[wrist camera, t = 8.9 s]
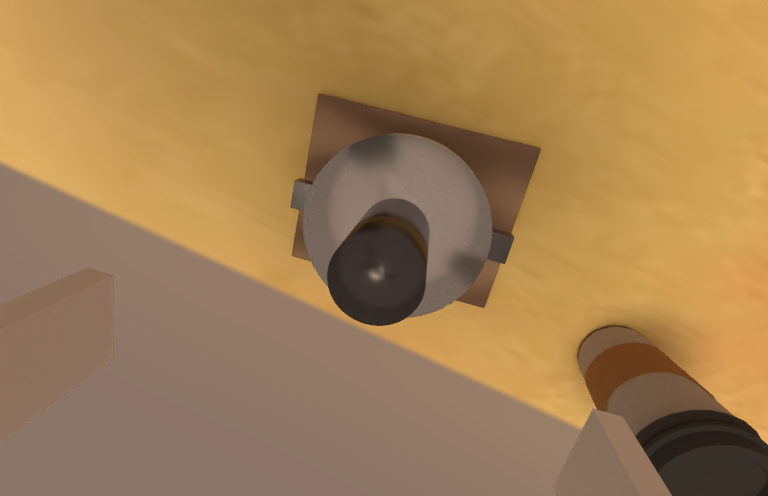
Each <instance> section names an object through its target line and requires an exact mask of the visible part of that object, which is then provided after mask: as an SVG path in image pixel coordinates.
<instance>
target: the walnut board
mask: <svg viewBox="0 0 768 496" xmlns="http://www.w3.org/2000/svg"><path fill="white" fill-rule="evenodd" d="M392 133H403V134H412V135H418V136H422V137H425V138H428V139H431V140H434V141H436V142H438V143H440V144H442V145H444V146H445V147H447V148H448V149H450V150H451V151H453V152H454V153H456V154H457V155H458V156H459V157H460V158H461V159H462V160H463V161H464V162H465V163H466V164H467V165H468V166H469V167H470V169H471V170H472V171H473V173H474V174H475V176H476V177H477V179H478V180H479V182H480V184H481V185H482V188H483V190H484V192H485V194H486V196H487V200H488V203H489V206H490V211H491V217H492V228H494V229H498V230H502V231H506V232H510V233H511V231H512V229H513V226H514V223H515V220H516V217H517V215H518V212H519V209H520V206H521V203H522V201H523V198H524V195H525V192H526V189H527V187H528V184H529V181H530V178H531V176H532V173H533V170H534V167H535V164H536V162H537V159H538V156H539V153H540V150H541V148H537V147H533V146H529V145H525V144H521V143H517V142H513V141H509V140H504V139H500V138H496V137H492V136H488V135H484V134H480V133H476V132H472V131H468V130H464V129H460V128H456V127H452V126H448V125H444V124H440V123H436V122H432V121H428V120H424V119H420V118H416V117H412V116H408V115H404V114H399V113H395V112H391V111H387V110H383V109H379V108H375V107H371V106H367V105H363V104H359V103H355V102H351V101H347V100H343V99H339V98H335V97H331V96H327V95H323V94H318V100H317V106H316V112H315V118H314V124H313V130H312V136H311V142H310V148H309V154H308V160H307V166H306V172H305V178H304V179H305V180H309V181H313V182H314V180H315V178H316V177H317V175H318V174H319V172H320V171H321V170H322V168H323V167H324V166H325V165H326V164H327V163H328V162H329V161H330V160H331V159H332V158H333V157H334V156H335V155H336V154H338V153H339V152H340V151H342V150H343V149H345V148H346V147H348V146H350V145H352V144H354V143H356V142H358V141H361V140H363V139H366V138H370V137H374V136H378V135H382V134H392ZM303 215H304V211H302V210H299V215H298V221H297V227H296V233H295V239H294V245H293V251H292V256H294V257H297V258H301V259H305V260H308V261H311V259H310V257H309V255H308V252H307V248H306V245H305V240H304V233H303ZM499 265H500V263H499V262H495V261H492V260H488V259H487V260H486V262H485V264H484V267H483V269H482V271H481V272H480V274H479V276H478V277H477V279H476V280H475V281H474V283H473V284H472V285H471V286H470V288H469V289H468V290H467V291H466V292H465V293H464V294H462V295H461V296H460V297H459V298H458V299H456V300H457V301H460V302H464V303H468V304H471V305H475V306H479V307H482V308H484V307H485V304H486V301H487V299H488V296H489V293H490V290H491V287H492V285H493V282H494V279H495V276H496V273H497V271H498V268H499Z"/></svg>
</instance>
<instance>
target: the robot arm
mask: <svg viewBox="0 0 768 496" xmlns="http://www.w3.org/2000/svg"><path fill="white" fill-rule="evenodd" d="M113 278H114V277H113V275H111V274H108V273H104V272H100V271H97V270H93V269H90V268H86V269H83V270H81V271H79V272H76V273H74V274H71V275H69V276H67V277H64V278H62V279H60V280H57V281H55V282H52V283H50V284H48V285H45V286H43V287H41V288H38V289H36V290H34V291H31V292H29V293H26V294H24V295H22V296H19V297H17V298H15V299H13V300H10V301H7V302H5V303H3V304H0V442H1V441H3V440H4V439H5V438H7V437H8V436H9V435H11V434H12V433H13V432H15V431H16V430H18V429H19V428H20V427H22V426H23V425H24V424H26V423H27V422H28V421H30V420H31V419H32V418H34V417H35V416H37V415H38V414H39V413H41V412H42V411H43V410H45V409H46V408H47V407H49V406H50V405H51V404H53V403H54V402H56V401H57V400H58V399H60V398H61V397H62V396H64V395H65V394H66V393H68V392H69V391H70V390H72V389H73V388H74V387H76V386H77V385H78V384H80V383H81V382H83V381H84V380H85V379H87V378H88V377H89V376H91V375H92V374H94V373H95V372H96V371H98V370H99V369H100V368H102V367H103V366H104V365H106V364H107V363H109V362H110V361H111V360H113V356H114V355H113V354H114V348H113V346H114V345H113V344H114V342H113V341H114V340H113V339H114V338H113V337H114V335H113V334H114V330H113V328H114V327H113V322H114V317H113V313H114V311H113V310H114V309H113V308H114V305H113V304H114V302H113V301H114V293H113V292H114V291H113V288H114V285H113V284H114V283H113V282H114V279H113ZM553 487H554V490H555V493H556V496H672V495H671V493H670V492H669V490H668V488H667V487H666V485H665V484H664V482H663V480H662V479H661V477H660V476H659V474H658V472H657V471H656V469H655V468H654V466H653V464H652V463H651V461H650V460H649V458H648V456H647V455H646V453H645V452H644V450H643V448H642V447H641V445H640V444H639V442H638V440H637V439H636V437H635V436H634V434H633V432H632V431H631V429H630V428H629V426H628V424H627V423H626V421H625V419H624V418H623V417H622V416H618V415H614V414H611V413H607V412H604V411H600V410H596V409H592V411H591V413H590V415H589V417H588V419H587V421H586V423H585V425H584V427H583V429H582V431H581V433H580V435H579V437H578V439H577V441H576V443H575V445H574V447H573V448H572V451H571V452H570V454H569V456H568V458H567V460H566V462H565V464H564V466H563V468H562V470H561V472H560V474H559V476H558V478H557V480H556V482H555V484H554V485H553Z"/></svg>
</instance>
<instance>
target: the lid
mask: <svg viewBox="0 0 768 496" xmlns="http://www.w3.org/2000/svg"><path fill="white" fill-rule="evenodd" d="M303 233H304V240H305V245H306V248H307V252H308V255H309V257H310V259H311V262H312V264H313V266H314V268H315V269H316V271H317V273H318V275H319V276H320V277H321V279H322V280H323V281H324V282H325V284H326V285H327V286H328V288H329V291H330V294H331V296H332V298H333V300H334V301H335V303H336V304H337V305H338V307H339V308H340V309H341V310H342V311H343V312H344V313H345V314H347V315H348V316H349V317H351V318H353V319H354V320H357V321H359V322H361V323H364V324H369V325H375V326H384V325H390V324H394V323H397V322H400V321H402V320H404V319H405V318H409V317H416V316H422V315H425V314H429V313H432V312H434V311H437V310H439V309H442V308H443V307H445V306H447V305H449V304H451V303H452V302H454V301H455V300H456V299H458V298H459V297H460V296H461V295H462V294H464V293H465V292H466V291H467V290H468V289H469V288H470V286H471V285H472V284H473V283H474V281H475V280H476V279H477V277H478V276H479V274H480V272H481V271H482V269H483V267H484V264H485V262H486V260H487V257H488V254H489V250H490V246H491V239H492V217H491V211H490V206H489V203H488V200H487V196H486V194H485V192H484V190H483V188H482V185H481V184H480V182H479V180H478V179H477V177H476V176H475V174H474V173H473V171H472V170H471V169H470V167H469V166H468V165H467V164H466V163H465V162H464V161H463V160H462V159H461V158H460V157H459V156H458V155H457V154H456V153H454V152H453V151H451V150H450V149H448V148H447V147H445V146H444V145H442V144H440V143H438V142H436V141H434V140H431V139H428V138H425V137H422V136H418V135H412V134H403V133H392V134H382V135H378V136H374V137H370V138H366V139H363V140H361V141H358V142H356V143H354V144H352V145H350V146H348V147H346V148H345V149H343V150H342V151H340V152H339V153H338V154H336V155H335V156H334V157H333V158H332V159H331V160H330V161H329V162H328V163H327V164H326V165H325V166H324V167H323V168H322V170H321V171H320V172H319V174H318V175H317V177H316V178H315V180H314V182H313V184H312V186H311V188H310V191H309V193H308V196H307V199H306V203H305V207H304V215H303Z"/></svg>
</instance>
